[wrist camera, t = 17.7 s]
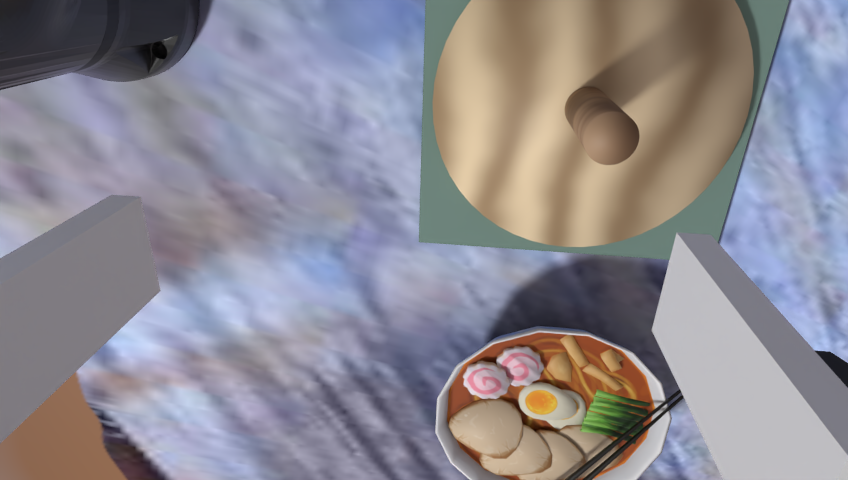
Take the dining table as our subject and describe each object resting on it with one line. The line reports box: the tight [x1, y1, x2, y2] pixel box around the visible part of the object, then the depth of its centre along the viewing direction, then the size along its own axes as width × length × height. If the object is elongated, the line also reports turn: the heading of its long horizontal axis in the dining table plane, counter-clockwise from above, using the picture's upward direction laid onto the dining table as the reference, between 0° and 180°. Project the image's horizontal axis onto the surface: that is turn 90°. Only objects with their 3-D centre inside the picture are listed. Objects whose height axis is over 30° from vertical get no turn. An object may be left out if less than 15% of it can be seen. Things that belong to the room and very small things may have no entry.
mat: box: [419, 0, 789, 260], centre depth 47 cm, size 28×28×1 cm
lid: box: [433, 0, 754, 247], centre depth 41 cm, size 26×26×11 cm
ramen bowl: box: [435, 326, 684, 480], centre depth 56 cm, size 25×23×8 cm
